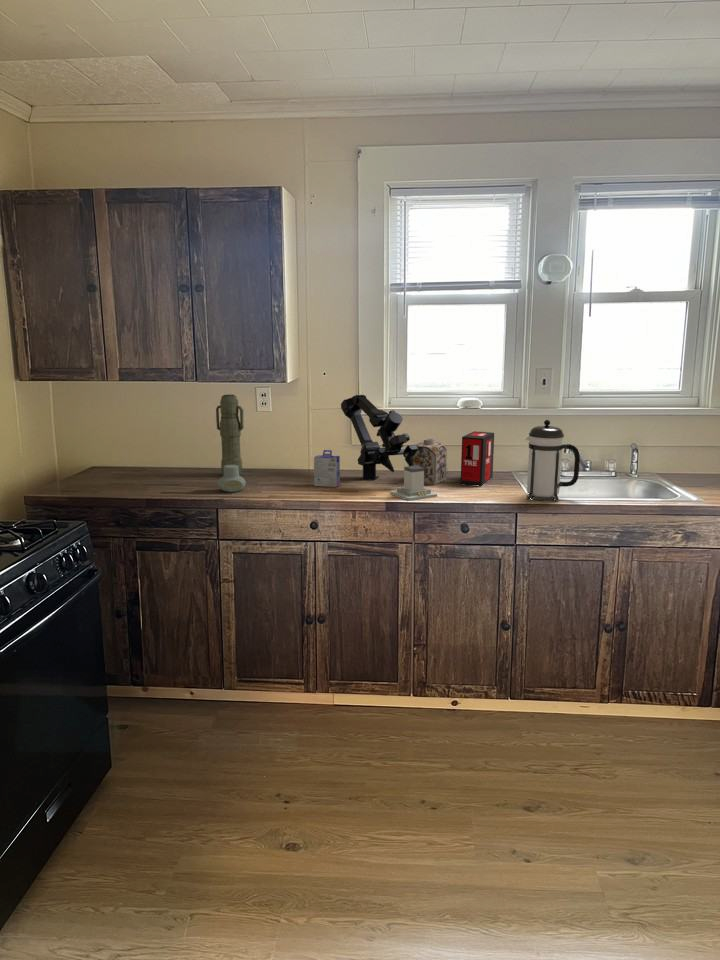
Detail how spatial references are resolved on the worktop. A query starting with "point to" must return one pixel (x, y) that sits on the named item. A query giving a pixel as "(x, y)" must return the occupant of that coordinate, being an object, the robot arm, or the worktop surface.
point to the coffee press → (547, 461)
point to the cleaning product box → (477, 458)
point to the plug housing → (413, 478)
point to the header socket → (413, 494)
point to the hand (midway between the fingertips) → (403, 470)
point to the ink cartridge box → (327, 470)
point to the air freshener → (231, 479)
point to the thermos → (230, 431)
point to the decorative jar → (431, 461)
